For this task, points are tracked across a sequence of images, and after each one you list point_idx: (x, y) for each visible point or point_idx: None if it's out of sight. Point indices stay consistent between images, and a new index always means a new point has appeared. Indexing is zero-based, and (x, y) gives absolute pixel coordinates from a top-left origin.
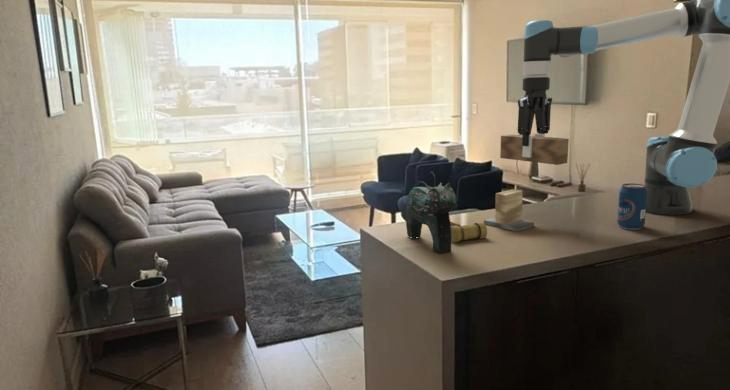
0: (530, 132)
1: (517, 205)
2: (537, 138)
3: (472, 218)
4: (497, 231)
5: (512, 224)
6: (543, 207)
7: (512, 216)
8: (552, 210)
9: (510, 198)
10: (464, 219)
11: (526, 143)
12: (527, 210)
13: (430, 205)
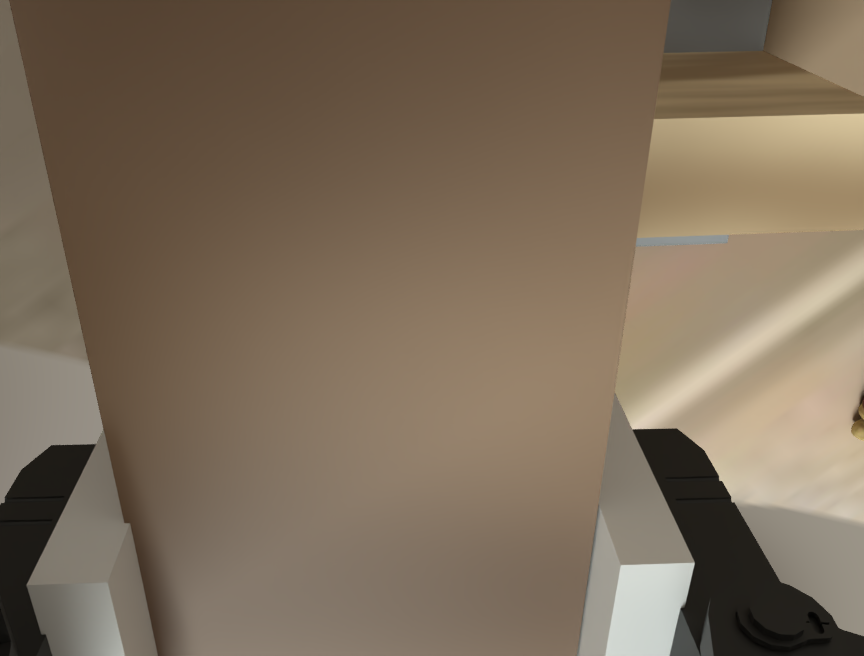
0: (737, 644)
1: None
2: (600, 383)
3: (636, 365)
4: (837, 41)
5: (723, 15)
6: (7, 232)
7: (690, 63)
8: (20, 123)
9: (793, 102)
10: (687, 381)
11: (708, 466)
12: None
13: None
